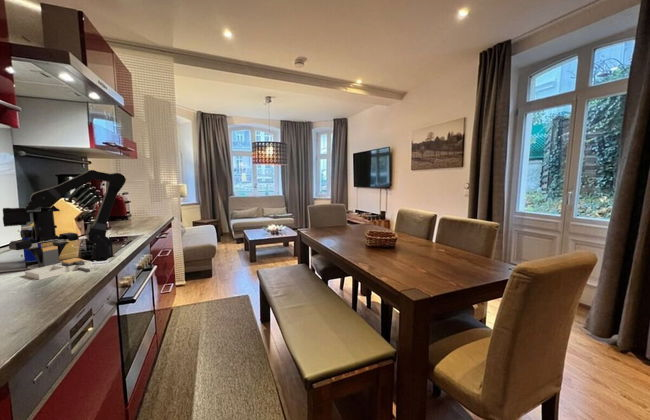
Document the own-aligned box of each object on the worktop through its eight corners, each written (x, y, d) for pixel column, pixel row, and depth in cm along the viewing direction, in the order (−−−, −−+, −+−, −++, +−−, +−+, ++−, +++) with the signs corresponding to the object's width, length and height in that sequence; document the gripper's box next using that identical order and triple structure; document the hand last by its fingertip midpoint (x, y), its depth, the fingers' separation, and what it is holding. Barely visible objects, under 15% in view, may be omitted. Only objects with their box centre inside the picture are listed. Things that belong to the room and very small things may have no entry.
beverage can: (46, 259, 117) (42, 225, 115) (32, 263, 112) (27, 228, 110) (35, 258, 118) (31, 225, 116) (21, 262, 113) (16, 227, 111)
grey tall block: (53, 263, 110) (51, 245, 109) (59, 265, 109) (57, 246, 108) (38, 267, 106) (36, 247, 105) (45, 268, 104) (42, 249, 104)
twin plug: (76, 266, 109) (75, 257, 109) (95, 270, 105) (94, 261, 105) (62, 269, 105) (61, 260, 105) (81, 273, 101) (80, 264, 101)
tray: (57, 262, 113) (56, 259, 113) (69, 265, 110) (69, 262, 110) (27, 269, 105) (27, 266, 105) (40, 272, 102) (40, 269, 102)
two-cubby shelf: (78, 263, 112) (78, 258, 112) (92, 266, 109) (91, 261, 109) (25, 276, 97) (24, 271, 97) (39, 280, 94) (38, 274, 94)
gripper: (62, 218, 117) (65, 253, 119) (-2, 225, 99) (4, 266, 101) (77, 220, 113) (81, 256, 115) (14, 228, 95) (20, 270, 97)
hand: (48, 261), depth 107 cm, fingers closed on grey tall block, 4 cm apart
